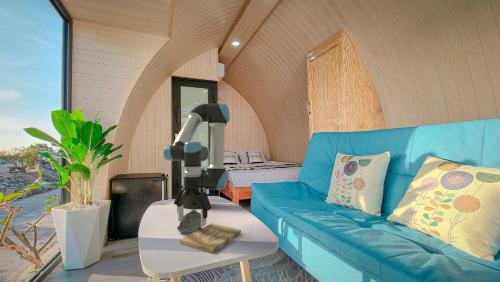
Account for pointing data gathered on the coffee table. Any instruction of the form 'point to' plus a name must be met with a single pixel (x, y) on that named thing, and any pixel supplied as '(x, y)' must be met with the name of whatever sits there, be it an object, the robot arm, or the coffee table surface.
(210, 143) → the robot arm
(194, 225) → the stone
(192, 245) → the board
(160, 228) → the coffee table surface
